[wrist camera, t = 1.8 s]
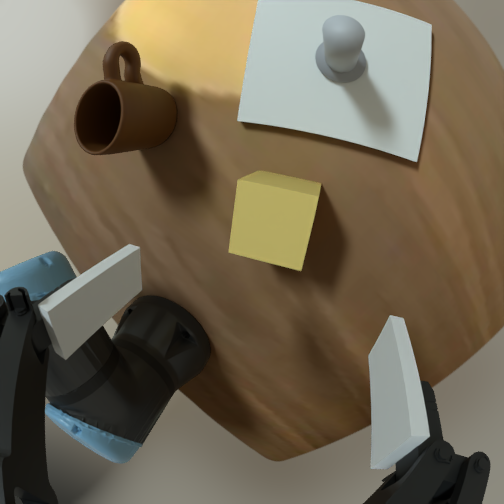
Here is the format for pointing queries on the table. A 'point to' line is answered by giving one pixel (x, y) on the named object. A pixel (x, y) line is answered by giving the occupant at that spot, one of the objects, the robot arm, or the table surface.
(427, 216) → the table surface
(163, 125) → the mug
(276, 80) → the white square plate
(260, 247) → the pale yellow cube
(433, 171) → the table surface
